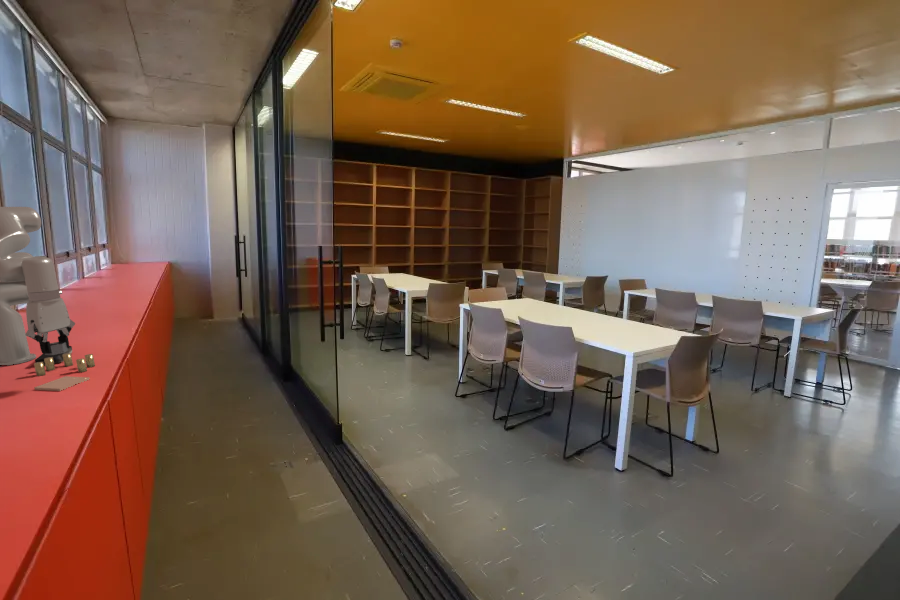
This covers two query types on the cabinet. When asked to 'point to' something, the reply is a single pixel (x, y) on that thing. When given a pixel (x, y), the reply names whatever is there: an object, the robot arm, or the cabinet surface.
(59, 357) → the black sponge
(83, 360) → the brass standoffs
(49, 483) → the cabinet surface
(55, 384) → the tan tile
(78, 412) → the cabinet surface
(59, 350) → the steel nut
